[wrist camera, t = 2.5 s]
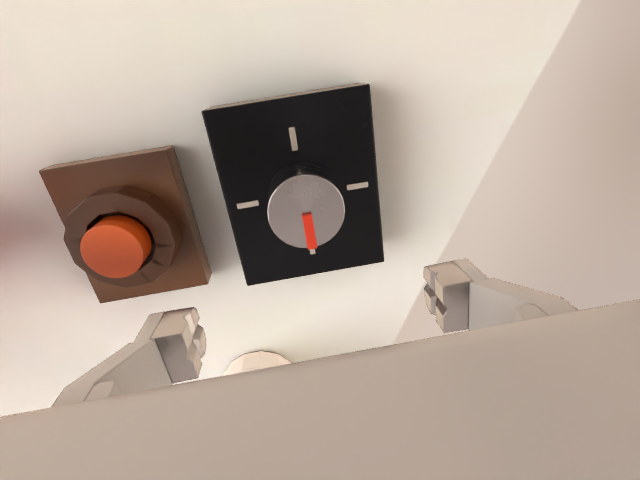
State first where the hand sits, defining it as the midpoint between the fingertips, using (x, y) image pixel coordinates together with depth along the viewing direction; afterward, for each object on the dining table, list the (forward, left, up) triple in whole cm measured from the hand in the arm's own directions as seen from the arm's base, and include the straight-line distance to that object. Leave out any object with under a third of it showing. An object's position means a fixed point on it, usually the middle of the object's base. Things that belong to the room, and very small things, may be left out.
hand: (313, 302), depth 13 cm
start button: (+1, -12, -12) cm, 17 cm away
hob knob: (0, 0, -12) cm, 12 cm away
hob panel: (0, 0, -15) cm, 15 cm away
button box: (+1, -12, -15) cm, 19 cm away
